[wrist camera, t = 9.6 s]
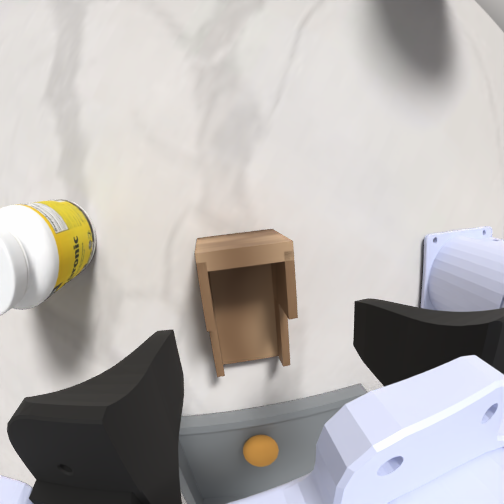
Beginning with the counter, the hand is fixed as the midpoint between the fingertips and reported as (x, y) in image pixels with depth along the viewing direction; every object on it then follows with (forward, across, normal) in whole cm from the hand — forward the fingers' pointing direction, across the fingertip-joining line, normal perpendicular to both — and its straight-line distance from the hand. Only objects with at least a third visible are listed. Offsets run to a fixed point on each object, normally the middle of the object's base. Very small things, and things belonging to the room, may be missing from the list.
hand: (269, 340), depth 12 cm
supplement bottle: (+10, +12, -4) cm, 16 cm away
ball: (+8, 0, +15) cm, 17 cm away
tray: (+10, -1, +18) cm, 21 cm away
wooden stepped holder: (+10, 0, +2) cm, 10 cm away
